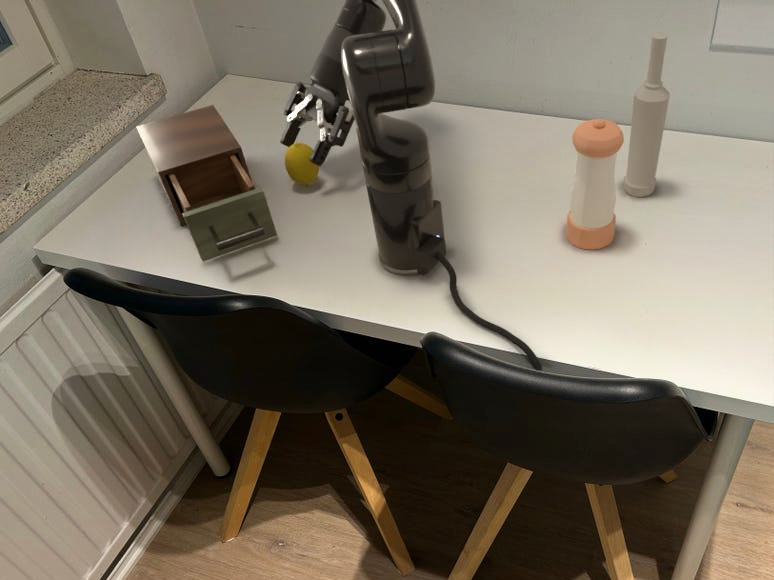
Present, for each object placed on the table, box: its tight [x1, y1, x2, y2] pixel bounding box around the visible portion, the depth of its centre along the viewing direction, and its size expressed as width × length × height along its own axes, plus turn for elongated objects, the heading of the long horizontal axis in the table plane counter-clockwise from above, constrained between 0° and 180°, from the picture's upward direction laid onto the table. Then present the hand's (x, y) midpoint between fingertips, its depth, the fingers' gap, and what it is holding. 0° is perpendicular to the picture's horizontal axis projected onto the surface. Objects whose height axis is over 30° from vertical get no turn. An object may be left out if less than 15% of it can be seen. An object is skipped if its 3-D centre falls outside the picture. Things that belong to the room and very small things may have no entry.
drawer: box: [168, 154, 278, 263], centre depth 111 cm, size 21×12×8 cm, turn 30°
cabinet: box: [136, 104, 253, 227], centre depth 120 cm, size 17×13×10 cm
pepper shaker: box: [566, 118, 625, 251], centre depth 104 cm, size 7×7×19 cm
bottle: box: [623, 32, 671, 198], centre depth 109 cm, size 5×5×25 cm
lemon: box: [284, 141, 320, 186], centre depth 121 cm, size 6×6×8 cm
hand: (299, 154), depth 119 cm, fingers open, 8 cm apart
